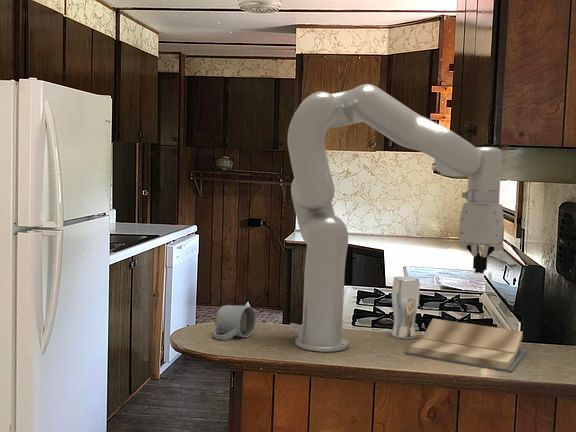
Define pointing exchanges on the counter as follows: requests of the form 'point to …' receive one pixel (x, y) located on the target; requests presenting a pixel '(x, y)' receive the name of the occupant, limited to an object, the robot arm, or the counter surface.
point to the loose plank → (474, 335)
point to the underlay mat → (510, 369)
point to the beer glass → (405, 306)
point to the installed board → (463, 353)
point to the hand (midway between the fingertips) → (479, 272)
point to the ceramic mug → (234, 321)
